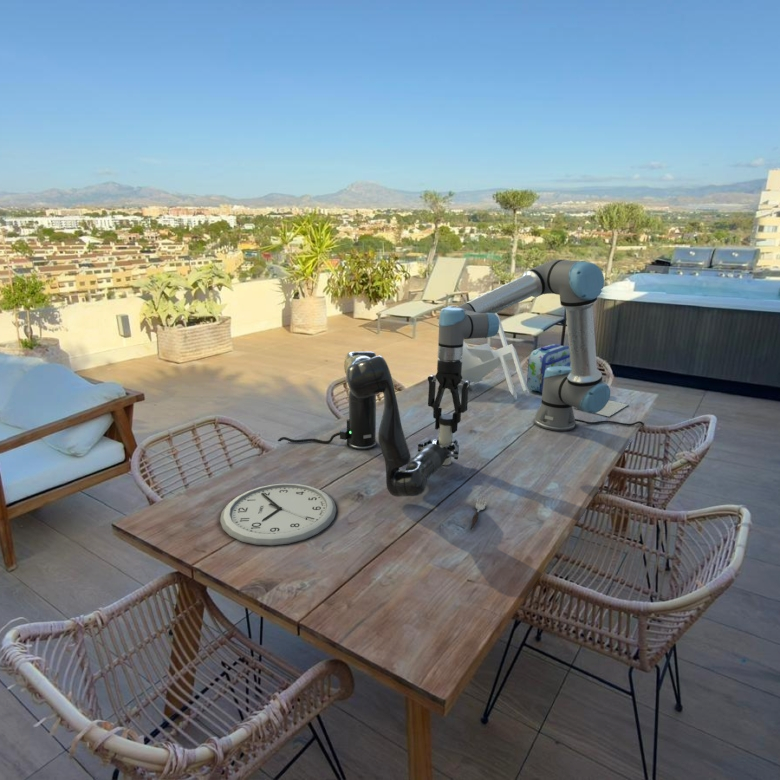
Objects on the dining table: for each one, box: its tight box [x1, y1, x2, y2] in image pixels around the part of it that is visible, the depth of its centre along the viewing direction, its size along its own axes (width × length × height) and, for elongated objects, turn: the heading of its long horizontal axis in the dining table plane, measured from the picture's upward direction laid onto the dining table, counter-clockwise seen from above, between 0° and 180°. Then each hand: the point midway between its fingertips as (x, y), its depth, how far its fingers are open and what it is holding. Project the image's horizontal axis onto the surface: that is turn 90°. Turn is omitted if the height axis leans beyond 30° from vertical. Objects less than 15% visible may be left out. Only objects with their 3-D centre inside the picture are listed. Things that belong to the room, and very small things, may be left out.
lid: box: [438, 413, 453, 425], centre depth 166 cm, size 5×5×2 cm
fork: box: [470, 495, 488, 530], centre depth 138 cm, size 3×16×2 cm, turn 160°
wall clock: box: [219, 483, 337, 546], centre depth 138 cm, size 30×2×30 cm
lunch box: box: [526, 343, 571, 394], centre depth 247 cm, size 26×11×21 cm, turn 134°
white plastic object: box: [460, 313, 531, 400], centre depth 245 cm, size 37×45×31 cm
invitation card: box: [573, 399, 629, 418], centre depth 226 cm, size 21×1×15 cm
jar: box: [438, 424, 454, 466], centre depth 168 cm, size 4×4×15 cm
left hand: (448, 440), depth 171 cm, fingers closed on jar, 4 cm apart
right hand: (446, 429), depth 167 cm, fingers closed on lid, 5 cm apart
